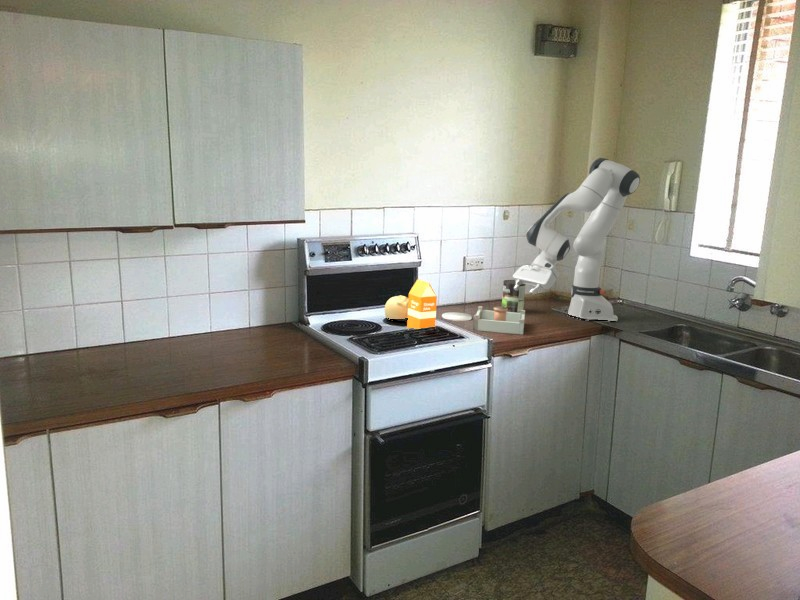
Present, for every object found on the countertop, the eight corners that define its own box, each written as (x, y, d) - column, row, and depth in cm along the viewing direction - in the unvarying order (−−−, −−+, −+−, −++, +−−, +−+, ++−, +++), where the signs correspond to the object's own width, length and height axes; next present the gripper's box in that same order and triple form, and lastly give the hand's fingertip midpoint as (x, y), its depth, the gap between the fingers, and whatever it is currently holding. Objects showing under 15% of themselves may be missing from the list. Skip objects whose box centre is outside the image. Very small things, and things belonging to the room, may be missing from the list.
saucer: (473, 316, 300) (473, 313, 300) (470, 322, 288) (470, 320, 287) (444, 313, 302) (444, 311, 302) (440, 319, 290) (440, 317, 290)
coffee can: (507, 314, 307) (509, 283, 305) (497, 309, 317) (499, 279, 314) (527, 313, 311) (530, 283, 308) (517, 309, 320) (519, 279, 317)
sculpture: (407, 324, 278) (409, 299, 276) (380, 321, 281) (381, 296, 279) (415, 319, 289) (417, 294, 286) (389, 316, 292) (390, 291, 290)
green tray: (524, 323, 290) (525, 310, 288) (522, 334, 270) (524, 320, 269) (477, 319, 293) (478, 306, 292) (473, 330, 274) (474, 315, 273)
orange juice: (422, 327, 275) (425, 278, 271) (435, 332, 268) (438, 282, 264) (406, 328, 271) (409, 279, 267) (418, 333, 263) (421, 283, 260)
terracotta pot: (506, 326, 284) (508, 307, 282) (505, 329, 278) (507, 310, 277) (492, 324, 285) (494, 306, 284) (491, 327, 280) (493, 308, 278)
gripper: (521, 259, 296) (502, 282, 292) (556, 266, 280) (537, 290, 276) (527, 268, 299) (509, 291, 296) (562, 276, 283) (544, 300, 279)
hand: (523, 291), depth 286 cm, fingers open, 8 cm apart
